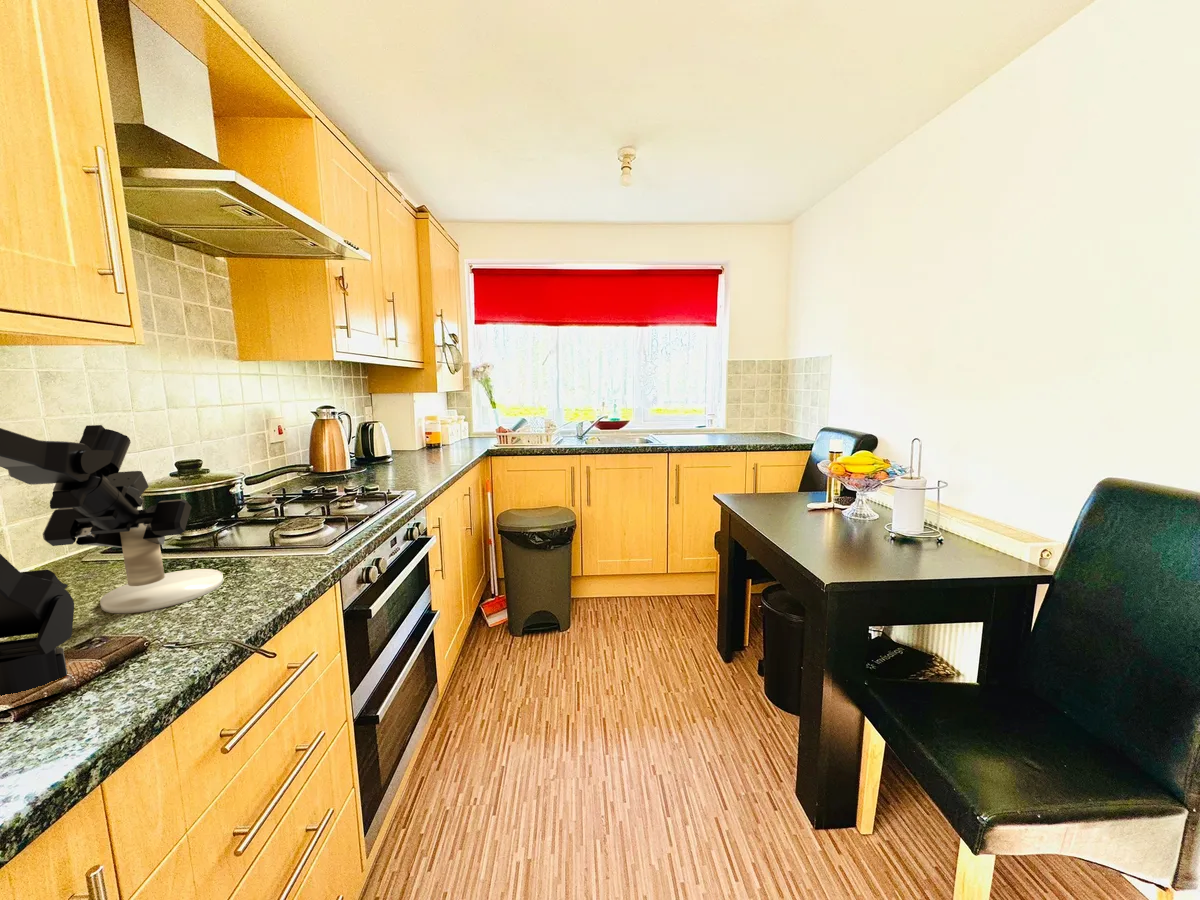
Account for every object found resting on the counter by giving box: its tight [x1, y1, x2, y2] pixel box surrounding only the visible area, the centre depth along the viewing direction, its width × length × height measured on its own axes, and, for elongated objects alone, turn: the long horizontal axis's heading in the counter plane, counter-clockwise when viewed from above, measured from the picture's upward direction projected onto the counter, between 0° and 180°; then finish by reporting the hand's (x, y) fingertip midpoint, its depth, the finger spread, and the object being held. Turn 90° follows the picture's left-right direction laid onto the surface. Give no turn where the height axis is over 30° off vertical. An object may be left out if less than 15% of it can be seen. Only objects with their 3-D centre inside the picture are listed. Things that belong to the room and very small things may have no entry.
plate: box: [99, 568, 224, 614], centre depth 98 cm, size 18×18×1 cm
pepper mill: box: [120, 523, 165, 586], centre depth 91 cm, size 5×5×13 cm
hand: (145, 543), depth 92 cm, fingers closed on pepper mill, 5 cm apart
